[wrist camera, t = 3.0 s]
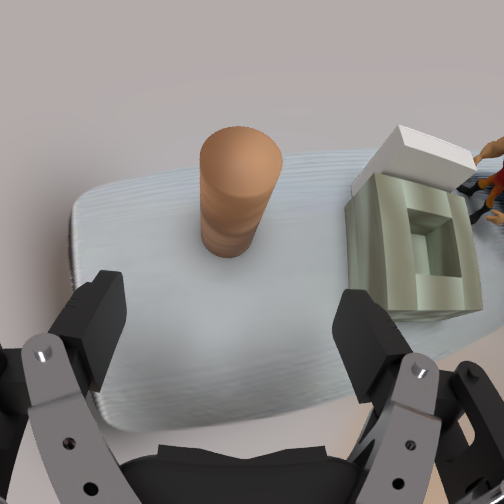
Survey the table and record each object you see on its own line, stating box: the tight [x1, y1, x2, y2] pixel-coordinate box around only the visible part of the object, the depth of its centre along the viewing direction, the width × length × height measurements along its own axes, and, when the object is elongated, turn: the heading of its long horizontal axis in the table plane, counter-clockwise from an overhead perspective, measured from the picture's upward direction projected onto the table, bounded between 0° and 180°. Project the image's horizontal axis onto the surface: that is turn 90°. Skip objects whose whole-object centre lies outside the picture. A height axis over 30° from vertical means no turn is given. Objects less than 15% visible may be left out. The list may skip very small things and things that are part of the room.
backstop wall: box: [351, 124, 477, 198], centre depth 22 cm, size 8×2×9 cm, turn 88°
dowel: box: [200, 126, 283, 258], centre depth 19 cm, size 4×4×10 cm
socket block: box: [345, 172, 483, 322], centre depth 22 cm, size 10×10×6 cm
